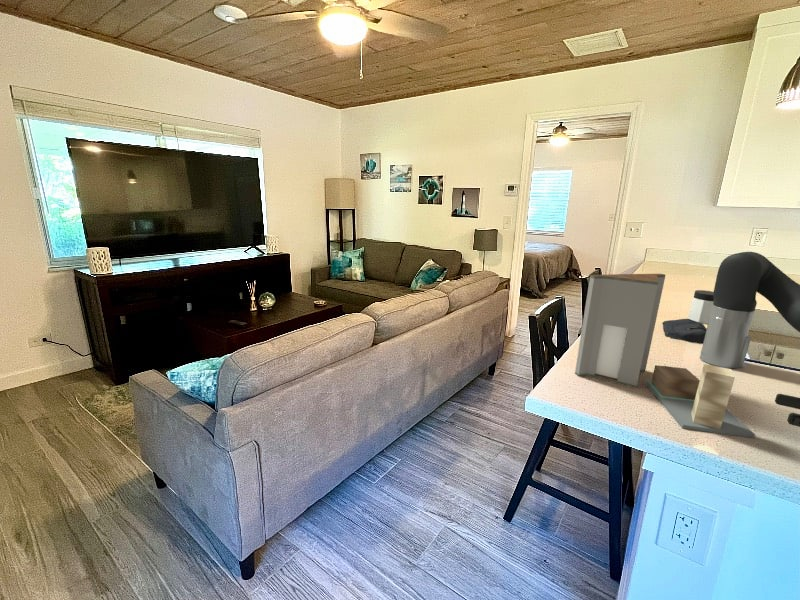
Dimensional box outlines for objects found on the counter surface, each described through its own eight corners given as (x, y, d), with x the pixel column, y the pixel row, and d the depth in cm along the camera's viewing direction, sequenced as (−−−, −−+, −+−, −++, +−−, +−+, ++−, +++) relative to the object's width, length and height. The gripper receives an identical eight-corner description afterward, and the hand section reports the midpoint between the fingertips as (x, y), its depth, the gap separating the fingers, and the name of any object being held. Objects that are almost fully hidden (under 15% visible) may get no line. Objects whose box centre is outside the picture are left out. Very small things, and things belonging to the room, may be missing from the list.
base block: (681, 386, 96) (686, 368, 94) (695, 400, 89) (700, 381, 88) (651, 382, 97) (655, 365, 96) (662, 396, 91) (667, 377, 89)
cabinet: (640, 369, 107) (660, 273, 99) (669, 385, 98) (693, 281, 90) (574, 373, 103) (590, 274, 96) (598, 391, 94) (617, 283, 87)
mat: (701, 390, 95) (702, 387, 95) (754, 437, 76) (755, 434, 76) (645, 383, 98) (645, 381, 98) (682, 428, 79) (683, 424, 79)
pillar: (717, 419, 81) (731, 369, 78) (720, 429, 78) (734, 377, 75) (691, 412, 84) (703, 363, 81) (693, 422, 80) (706, 371, 77)
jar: (720, 324, 148) (727, 294, 145) (703, 325, 146) (710, 295, 143) (698, 317, 157) (704, 289, 153) (682, 318, 155) (688, 290, 152)
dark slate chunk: (707, 329, 143) (710, 317, 142) (720, 348, 125) (723, 335, 123) (660, 322, 150) (662, 311, 149) (664, 339, 132) (667, 326, 131)
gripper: (926, 479, 60) (786, 443, 68) (882, 434, 71) (767, 408, 80) (944, 439, 58) (799, 406, 66) (896, 399, 69) (777, 376, 78)
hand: (782, 407), depth 73 cm, fingers open, 8 cm apart
